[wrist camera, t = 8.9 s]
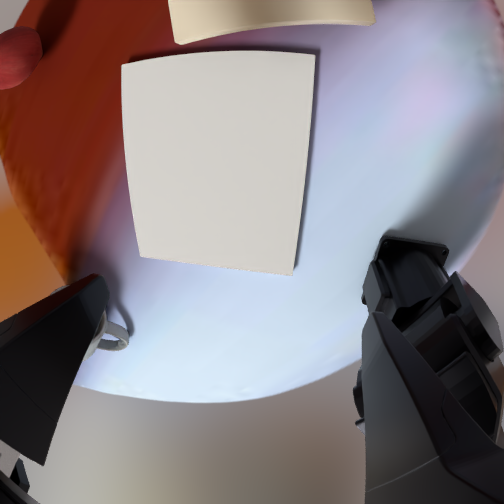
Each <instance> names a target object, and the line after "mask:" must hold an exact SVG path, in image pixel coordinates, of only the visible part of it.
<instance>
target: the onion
mask: <svg viewBox="0 0 504 504" xmlns="http://www.w3.org/2000/svg"><path fill="white" fill-rule="evenodd" d="M42 55H43V50H42V44H41V39H40V36H39V34H38V33H37V32H36V31H35V30H34V29H32V28H29V27H24V26H20V27H15V28H12V29H9V30H7V31H5V32H3V33H1V34H0V89H8V88H12V87H15V86H17V85H19V84H20V83H21V82H23V81H24V80H25V79H26V78H27V77H29V76H30V74H31V73H32V72H33V70H34V69H35V67H36V66H37V64H38V62H39V61H40V59H41V58H42Z"/></svg>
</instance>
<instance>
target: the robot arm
mask: <svg viewBox="0 0 504 504" xmlns="http://www.w3.org/2000/svg"><path fill="white" fill-rule="evenodd" d="M385 242H388V244H386V245H384V243H385ZM444 250H445V251H444ZM442 251H444V252H443V253H442ZM448 254H449V249H448V248H447V246H446V245H442V244H436V243H429V242H423V241H417V240H410V239H404V238H397V237H390V236H384V237H382V238H381V239H380V241H379V245H378V248H377V252H376V255H375V258H374V260H373V261H372V262H371V263H370V265H369V268H368V271H367V275H366V278H365V281H364V284H363V294H362V297H361V300H362V303H363V304H364V305H367V308H368V312H369V316H368V319H367V321H366V323H365V326H364V328H363V331H362V365H361V367H360V369H359V371H358V377H357V385H356V386H355V387H354V388H353V396H354V402H355V405H356V408H357V411H358V413H359V416H360V417H361V419H359V420H357V421H356V422H355V424H356V426H357V427H358V428H359V429H360V431H362V433H363V434H364V435H365V441H366V486H365V487H366V488H365V491H366V492H365V504H504V432H503V429H502V426H501V422H502V416H503V409H504V366H503V364H502V362H501V360H500V358H499V355H500V354H501V353H502V352H503V345H502V339H501V334H500V330H499V326H498V322H497V320H496V318H495V317H494V315H493V314H492V312H491V310H490V309H489V307H488V306H487V304H486V303H485V301H484V300H483V299H482V297H481V296H480V295H479V294H478V293H477V292H476V291H475V290H474V289H473V288H472V287H471V286H470V285H469V284H468V283H467V282H466V281H465V280H464V279H463V278H462V277H461V276H460V275H459V274H458V273H457V272H456V271H455V272H454V273H453V274H452V275H451V276H450V277H449V275H448V274H447V272H446V270H445V269H444V267H443V266H444V264H445V261H446V259H447V256H448ZM109 296H110V294H109V290H108V287H107V284H106V281H105V278H104V276H103V275H100V274H95V273H94V274H91V275H89V276H87V277H85V278H83V279H81V280H79V281H77V282H75V283H73V284H71V285H69V286H67V287H65V288H63V289H61V290H59V291H57V292H55V293H53V294H52V295H50V296H48V297H46V298H44V299H42V300H40V301H39V302H37V303H35V304H33V305H31V306H30V307H27V308H26V309H24V310H22V311H20V312H19V313H18V314H15V315H13V316H11V317H10V318H8V319H6V320H4V321H2V322H0V504H40V503H38V502H37V501H36V500H34V499H33V498H32V497H31V496H29V495H28V494H27V493H28V490H29V487H30V485H29V482H28V478H27V475H26V472H25V468H24V464H23V461H22V460H21V459H20V458H19V455H20V453H21V454H22V455H24V456H26V457H27V458H29V459H30V460H32V461H34V462H36V463H37V464H39V465H41V466H44V464H45V461H46V457H47V454H48V450H49V447H50V444H51V441H52V438H53V435H54V432H55V429H56V426H57V422H58V420H59V417H60V414H61V412H62V409H63V406H64V404H65V401H66V399H67V396H68V394H69V391H70V388H71V386H72V384H73V381H74V379H75V377H76V374H77V372H78V370H79V368H80V365H81V363H82V361H83V359H84V356H85V354H86V352H87V350H88V348H89V346H90V344H91V342H92V340H93V337H94V335H95V333H96V331H97V328H98V325H99V323H100V320H101V318H102V315H103V313H104V310H105V308H106V305H107V303H108V300H109ZM365 299H366V300H365Z"/></svg>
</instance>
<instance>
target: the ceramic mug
mask: <svg viewBox="0 0 504 504" xmlns="http://www.w3.org/2000/svg"><path fill="white" fill-rule="evenodd" d="M67 286H69V285H66V286H62V287H60V288H58V289H56V290H55V291H53V292H52V293H51V294H50V295H52V294H53V293H55V292H57V291H59V290H61V289H63V288H65V287H67ZM104 333H106V334H110V335H113V336H116V337H118V338H120V340H117V341H113V340H105V339H101V338H102V336H103V334H104ZM128 343H129V333H128V331H127V330H126V329H125V328H123V327H122V326H120V325H118V324H115V323H113V322H110V321H107V315H106V311H105V310H104V313H103V315H102V318H101V320H100V323H99V325H98V328H97V331H96V333H95V335H94V337H93V340H92V342H91V344H90V346H89V348H88V350H87V352H86V354H85V356H84V359H83V361H85V360H87V359H88V358H89V357H91V356H92V354H93V353H94V352H95V350H96V348H97V349H102V350H108V351H119V350H123V349H125V348H126V347H127V346H128ZM83 361H82V362H83Z"/></svg>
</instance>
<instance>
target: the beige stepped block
mask: <svg viewBox="0 0 504 504" xmlns="http://www.w3.org/2000/svg"><path fill="white" fill-rule="evenodd" d="M168 3H169V9H170V16H171V22H172V28H173V34H174V40H175V43H178V44H181V45H183V44H186V43H190V42H194V41H197V40H201V39H206V38H210V37H214V36H219V35H224V34H229V33H234V32H240V31H246V30H252V29H259V28H267V27H277V26H288V25H305V24H348V25H365V26H371V25H373V24H374V23H376V20H375V15H374V11H373V6H372V2H371V0H168Z"/></svg>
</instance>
